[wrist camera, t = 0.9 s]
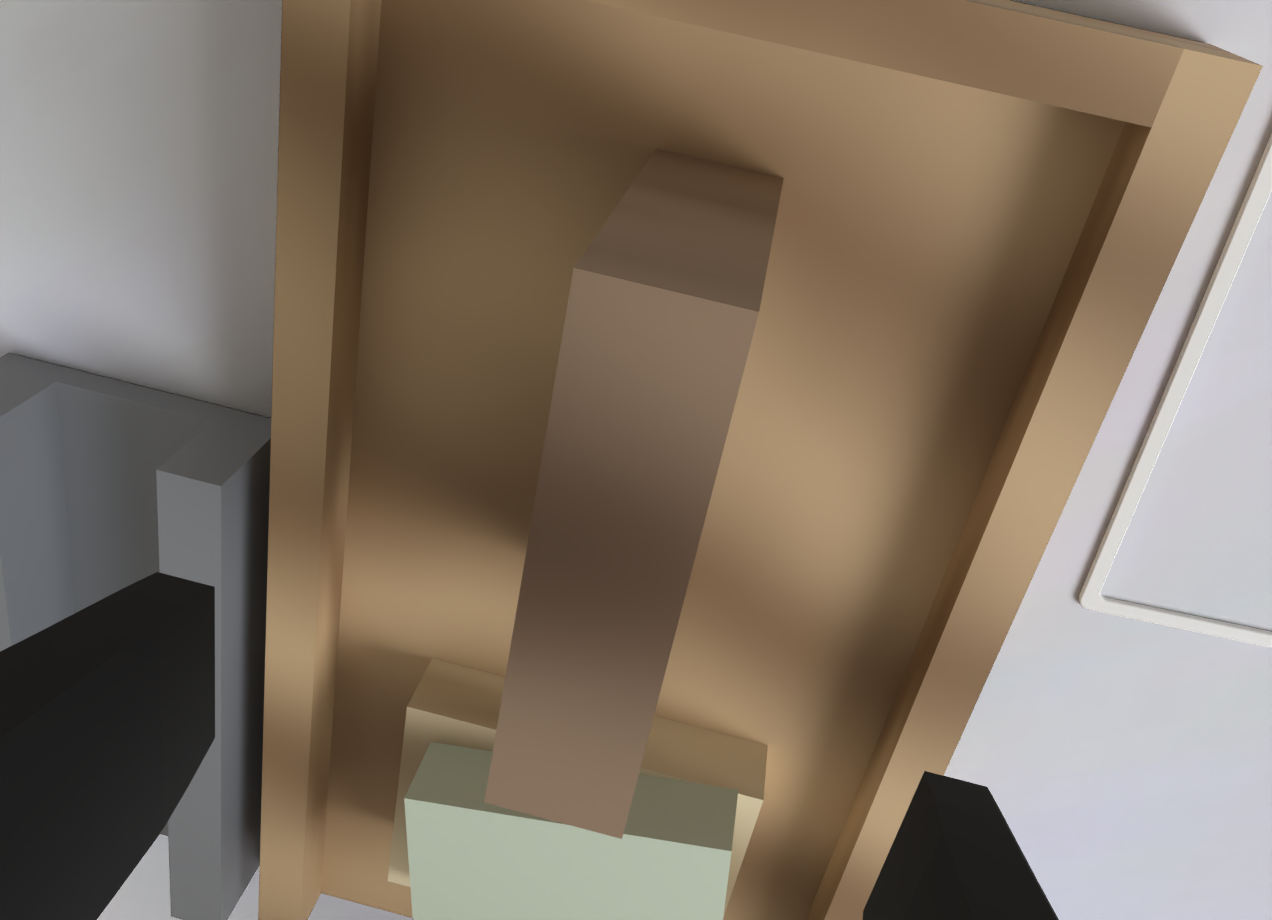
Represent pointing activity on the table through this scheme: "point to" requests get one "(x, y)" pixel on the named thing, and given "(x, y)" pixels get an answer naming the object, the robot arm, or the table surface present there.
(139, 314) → the table surface
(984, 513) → the tray
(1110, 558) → the white rimmed panel
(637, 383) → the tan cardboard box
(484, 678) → the offcut
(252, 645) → the holder
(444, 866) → the offcut
